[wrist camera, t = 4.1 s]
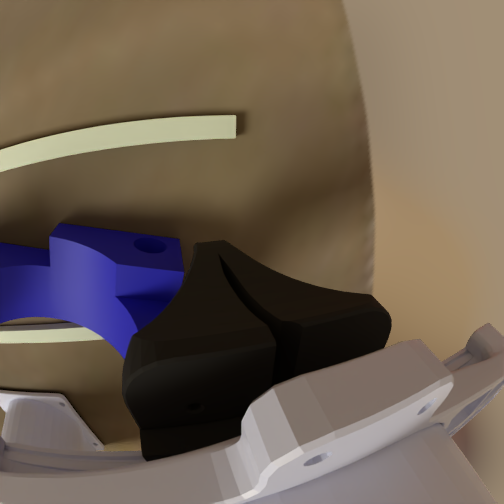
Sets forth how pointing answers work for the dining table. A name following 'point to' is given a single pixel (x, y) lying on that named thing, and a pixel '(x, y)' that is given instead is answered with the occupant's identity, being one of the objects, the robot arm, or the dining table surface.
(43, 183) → the dining table surface
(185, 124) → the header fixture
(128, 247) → the cable clip
